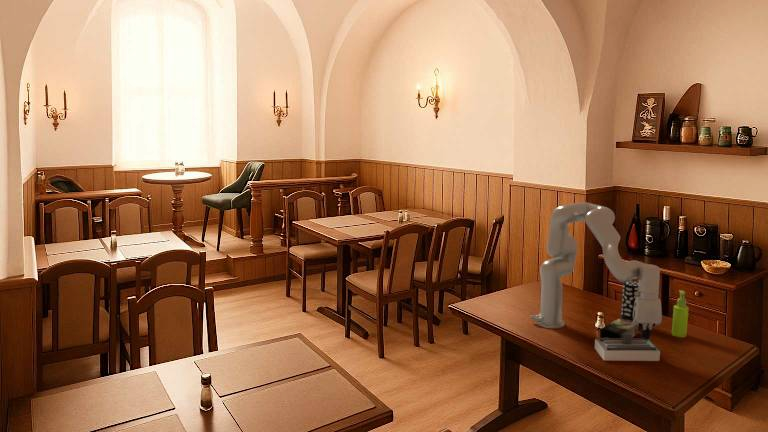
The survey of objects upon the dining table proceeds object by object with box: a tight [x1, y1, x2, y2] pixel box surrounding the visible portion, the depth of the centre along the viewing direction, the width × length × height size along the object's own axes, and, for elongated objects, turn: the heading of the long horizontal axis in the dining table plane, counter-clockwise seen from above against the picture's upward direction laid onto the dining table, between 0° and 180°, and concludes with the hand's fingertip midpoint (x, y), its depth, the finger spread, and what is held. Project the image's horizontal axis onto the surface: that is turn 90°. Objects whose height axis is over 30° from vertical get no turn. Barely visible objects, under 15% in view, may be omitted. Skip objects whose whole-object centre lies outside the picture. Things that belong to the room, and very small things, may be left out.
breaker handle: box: [623, 333, 633, 344], centre depth 238 cm, size 2×2×5 cm
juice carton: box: [599, 317, 639, 339], centre depth 257 cm, size 20×10×6 cm, turn 135°
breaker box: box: [594, 337, 661, 362], centre depth 238 cm, size 22×12×5 cm, turn 87°
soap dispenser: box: [671, 289, 690, 338], centre depth 257 cm, size 6×7×20 cm
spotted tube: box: [620, 280, 640, 328], centre depth 270 cm, size 8×8×20 cm
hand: (645, 338), depth 237 cm, fingers closed
